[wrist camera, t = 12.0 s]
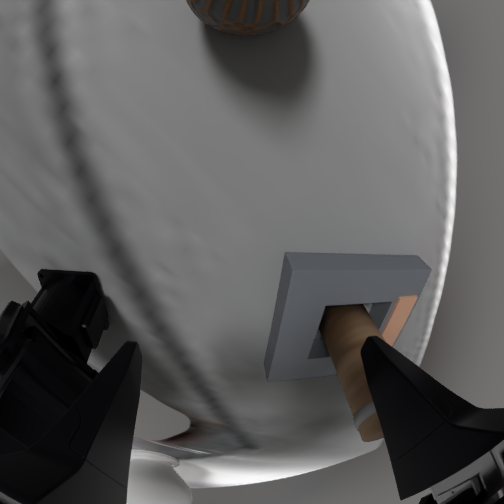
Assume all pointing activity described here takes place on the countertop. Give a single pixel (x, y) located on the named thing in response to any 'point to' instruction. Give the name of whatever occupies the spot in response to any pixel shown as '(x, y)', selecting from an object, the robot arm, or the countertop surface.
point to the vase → (247, 14)
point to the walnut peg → (352, 361)
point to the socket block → (336, 293)
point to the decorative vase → (155, 480)
